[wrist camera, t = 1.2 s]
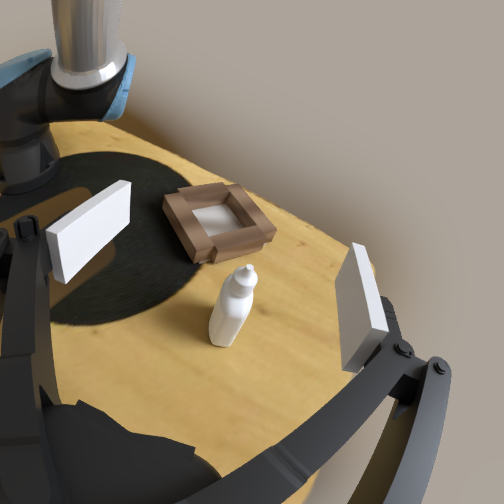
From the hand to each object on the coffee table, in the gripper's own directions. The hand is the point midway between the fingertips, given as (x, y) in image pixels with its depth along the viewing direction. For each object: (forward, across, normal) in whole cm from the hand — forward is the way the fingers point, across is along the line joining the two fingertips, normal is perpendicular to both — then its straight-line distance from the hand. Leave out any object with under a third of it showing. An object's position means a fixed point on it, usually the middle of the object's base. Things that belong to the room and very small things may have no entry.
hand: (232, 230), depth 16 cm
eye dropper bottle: (+11, 0, -20) cm, 22 cm away
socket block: (+27, -6, -15) cm, 32 cm away
